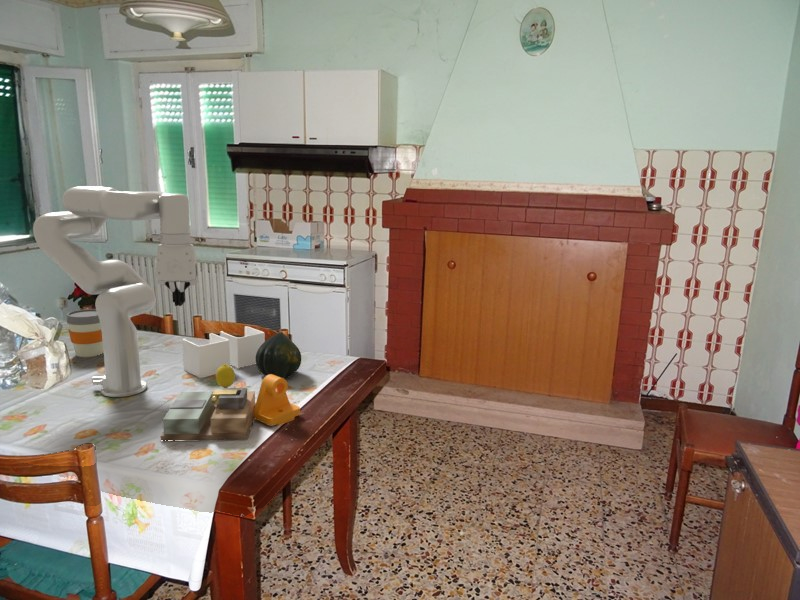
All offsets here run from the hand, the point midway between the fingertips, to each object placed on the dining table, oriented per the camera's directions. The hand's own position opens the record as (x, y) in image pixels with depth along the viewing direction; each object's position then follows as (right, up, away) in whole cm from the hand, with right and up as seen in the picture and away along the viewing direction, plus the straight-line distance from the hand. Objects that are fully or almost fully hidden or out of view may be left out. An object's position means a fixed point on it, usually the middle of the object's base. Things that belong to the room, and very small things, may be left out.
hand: (179, 304), depth 158 cm
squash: (+21, -24, +31) cm, 44 cm away
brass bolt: (+15, -26, -9) cm, 32 cm away
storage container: (+1, -22, +38) cm, 44 cm away
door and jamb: (+12, -32, -7) cm, 35 cm away
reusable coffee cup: (-50, -18, +46) cm, 70 cm away
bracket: (+28, -32, -2) cm, 42 cm away
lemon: (+8, -26, +17) cm, 33 cm away
